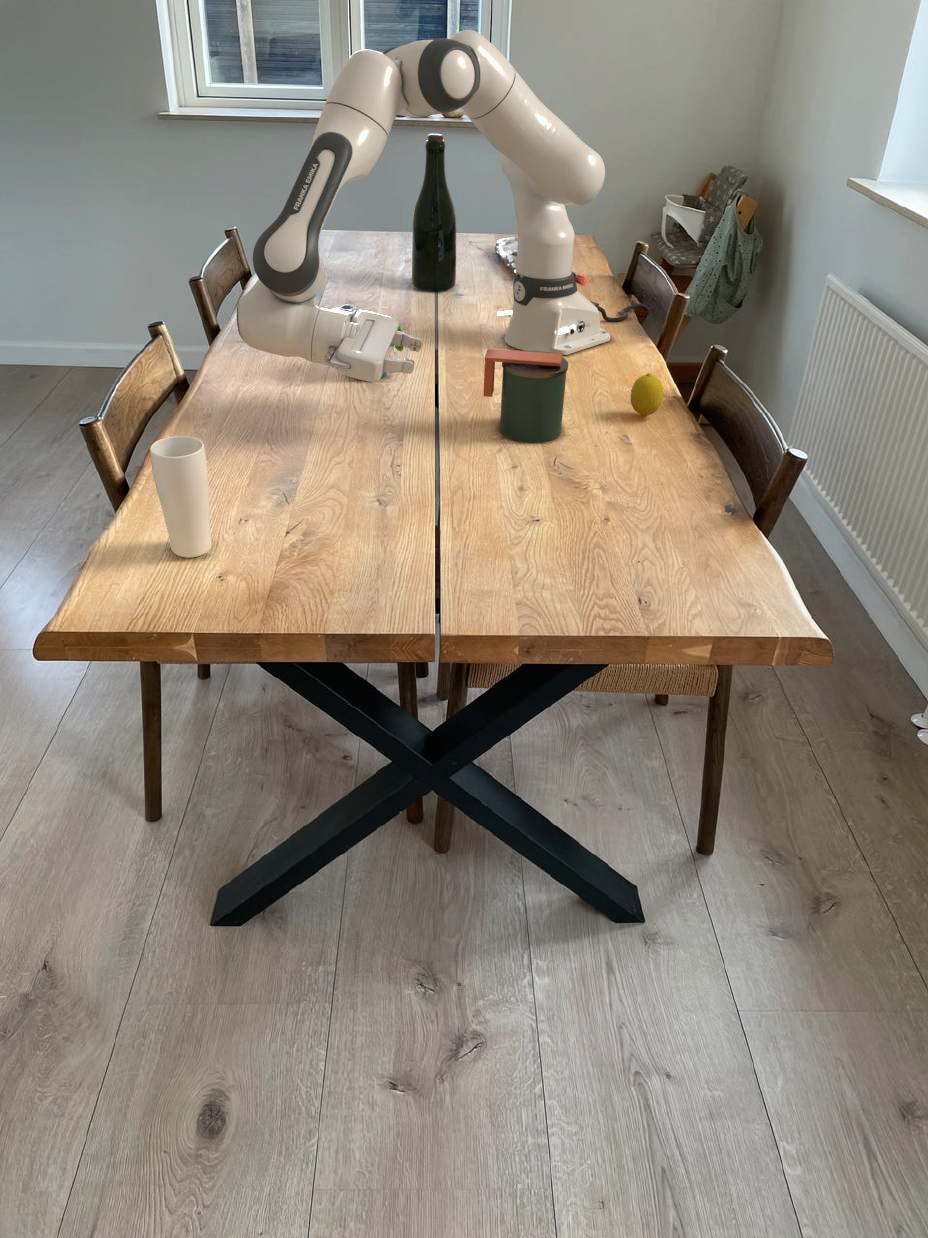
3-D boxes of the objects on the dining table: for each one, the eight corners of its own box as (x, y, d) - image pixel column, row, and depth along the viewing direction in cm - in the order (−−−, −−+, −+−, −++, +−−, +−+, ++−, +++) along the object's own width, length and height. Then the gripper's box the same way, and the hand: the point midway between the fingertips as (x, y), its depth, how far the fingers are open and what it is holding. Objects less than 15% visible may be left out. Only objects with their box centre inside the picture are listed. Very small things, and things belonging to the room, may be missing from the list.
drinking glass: (170, 537, 136) (153, 435, 127) (220, 536, 136) (207, 434, 128) (162, 562, 130) (144, 458, 122) (214, 561, 131) (200, 457, 122)
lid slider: (482, 397, 165) (484, 357, 161) (485, 388, 168) (487, 348, 164) (557, 403, 164) (560, 362, 160) (558, 393, 167) (562, 353, 163)
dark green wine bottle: (464, 285, 239) (468, 133, 220) (439, 295, 231) (442, 139, 213) (427, 277, 243) (429, 128, 225) (403, 287, 236) (402, 134, 217)
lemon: (662, 413, 177) (668, 370, 172) (656, 425, 172) (663, 381, 168) (631, 408, 178) (636, 365, 174) (625, 420, 174) (630, 376, 169)
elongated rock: (524, 252, 271) (488, 254, 270) (524, 231, 268) (487, 234, 267) (554, 281, 241) (514, 284, 240) (554, 258, 238) (513, 261, 237)
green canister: (495, 440, 165) (498, 370, 158) (501, 415, 174) (505, 347, 167) (560, 446, 164) (566, 375, 157) (563, 420, 173) (569, 352, 166)
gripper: (323, 343, 153) (411, 362, 154) (348, 300, 170) (427, 316, 170) (319, 381, 157) (405, 399, 158) (344, 335, 174) (422, 351, 174)
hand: (417, 356), depth 164 cm, fingers open, 8 cm apart
